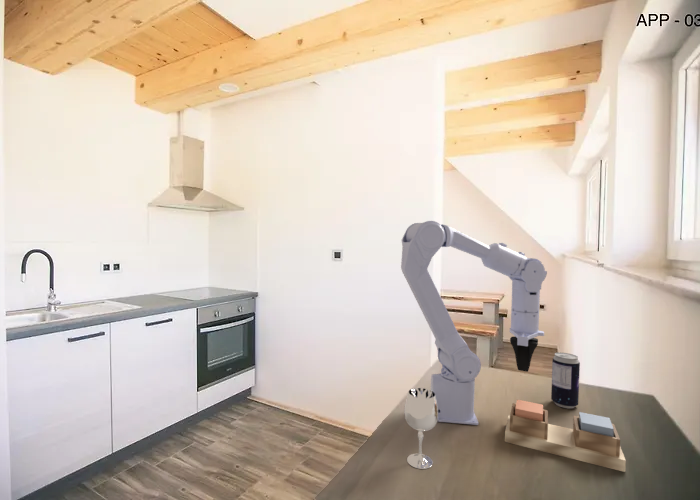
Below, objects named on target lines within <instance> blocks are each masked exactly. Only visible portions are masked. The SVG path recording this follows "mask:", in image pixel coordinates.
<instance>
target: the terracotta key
mask: <svg viewBox="0 0 700 500" xmlns="http://www.w3.org/2000/svg"><path fill="white" fill-rule="evenodd" d="M515 404H516V408H515V416H519V417H524V418H528V419H533V420H537V421H542V422H543V410H544V405H543V404H542V403H536V402H532V401H531V402H530V401H527V400H521V399H516V402H515Z"/></svg>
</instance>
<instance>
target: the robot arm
mask: <svg viewBox="0 0 700 500" xmlns="http://www.w3.org/2000/svg"><path fill="white" fill-rule="evenodd" d="M401 245H402V250H401V262H400V263H401V265H400V268H401V269H400V270H401V272H402V274H403V276H404V278H405V279H406V282H407V285H408V286H409V288H410V290H411V293H412V294H413V296H414V299H415V301H416V302H417V304H418V306H419V308H420V310H421V313H422V314H423V316H424V320H426V322H427V324H428V326H429V329H430V330H431V332H432V335H433V336H434V338H435V339H434V341H435V342H434V344H435V346H436V349H437V359H438V362H439V363H440V364H441V370H440V371H441V372H440V373H432V374H431V378H430V390H431V391H433V392H434V393H435V395H436V400H437V405H438V420H437V423H438V422H440V423H450V424H451V423H452V424H463V425H474V426H478V425H479V420H478V418H477V416H476V414H475V385H476V384H475V383H476V382H475V379H476V378H477V377H478V375H479V374H480V372H481V368H482V363H481V360H480V358H479V356H478V355H477V354H476V353H474V352H473V351H472V350H471V349H470V347H469V345H468V343H467V342H466V341H465V340H464V338H463V337H462V336H461V334H460V333H459V332H458V329H457V328H456V326H455V324H454V321H453V319H452V317H451V315H450V313H449V311H448V309H447V307H446V305H445V304H444V301H443V299H442V297H441V295H440V293H439V291H438V289H437V287H436V284H435V283H434V280H433V279H432V277H431V275H430V273H429V271H428V268H429V266H430V263H431V261H432V259H433V257H434V256H435V255H436V253H437V252H438V251H439V250H440V249H441V248H448V247H451V248H454V249H456V250H459V251H461V252H463V253H466V254H469V255H471V256H474V257H476V258H479V259H480V260H481V262H482V264H483V266H484V267H486V268H488V269H490V270H493V271H495V272H497V273H499V274H501V275H504V276H507V277H508V278H509V279H510V281H512V283H511V307H510V308H511V311H510V313H511V314H510V327H509V333H511V335H512V336H510V339H509V342H510V344H511V347H512V349H513V352H514V355H515V362H516V367H517V371H520V372H529V370H530V366H531V363H532V357H533V354H534V351H535V350H536V348H537V347H538V345H539V339H538V338H537V337H539V336H540V337H544V336H545V331H543V330H540V329H539V325H540V300H541V299H540V297H541V295H540V294H541V290H542V284H543V282H544V281H545V279H546V277H547V274H548V271H547V270H545V269H546V268H545V265H544V264H543V263H542V261H540V260H539V259H538V258H534V257H532V258H531V257H526V254H525V253H524V252H523V251H518V252H517V251H515V250H512V249H511V248H508V247H507V246H508V245H507V244H506V243H505V242H498V243H495V242H494V243H491V244H489V245H488V244H485V243H484V242H482V241H480V240H478V239H475V238H474V237H471V236H470V235H467V234H466V233H463V232H462V231H459V230H457V229H456V228H453V227H451V226H450V225H447V224H441V223H439V222H437V221H435V220H427V221H424V222H415V223H412V224H410V225H409V226H408V227H407V228H406V229H405V231H404V235H403V236H402V239H401Z"/></svg>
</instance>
